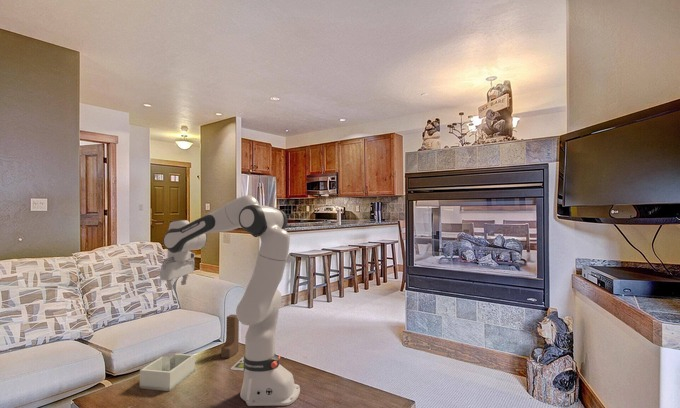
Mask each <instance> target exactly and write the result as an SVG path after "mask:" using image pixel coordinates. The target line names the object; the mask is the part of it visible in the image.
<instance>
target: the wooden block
mask: <svg viewBox="0 0 680 408" xmlns="http://www.w3.org/2000/svg"><path fill="white" fill-rule="evenodd" d="M239 324H240V321H239V320H238V318H237V315H236V314H232V313H231V314H229V315H228V316H226V331H225V333H226V335H225V337H226V338H225V343H224V344H223V346H222V347H221V349H220V358H223V359H225V358H226V359H230V358H232V357H233V356H234V355H235V354H237V353H238V352H239V340H240V339H239V334H240V332H239V331H240V329H239V328H240V325H239Z"/></svg>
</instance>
